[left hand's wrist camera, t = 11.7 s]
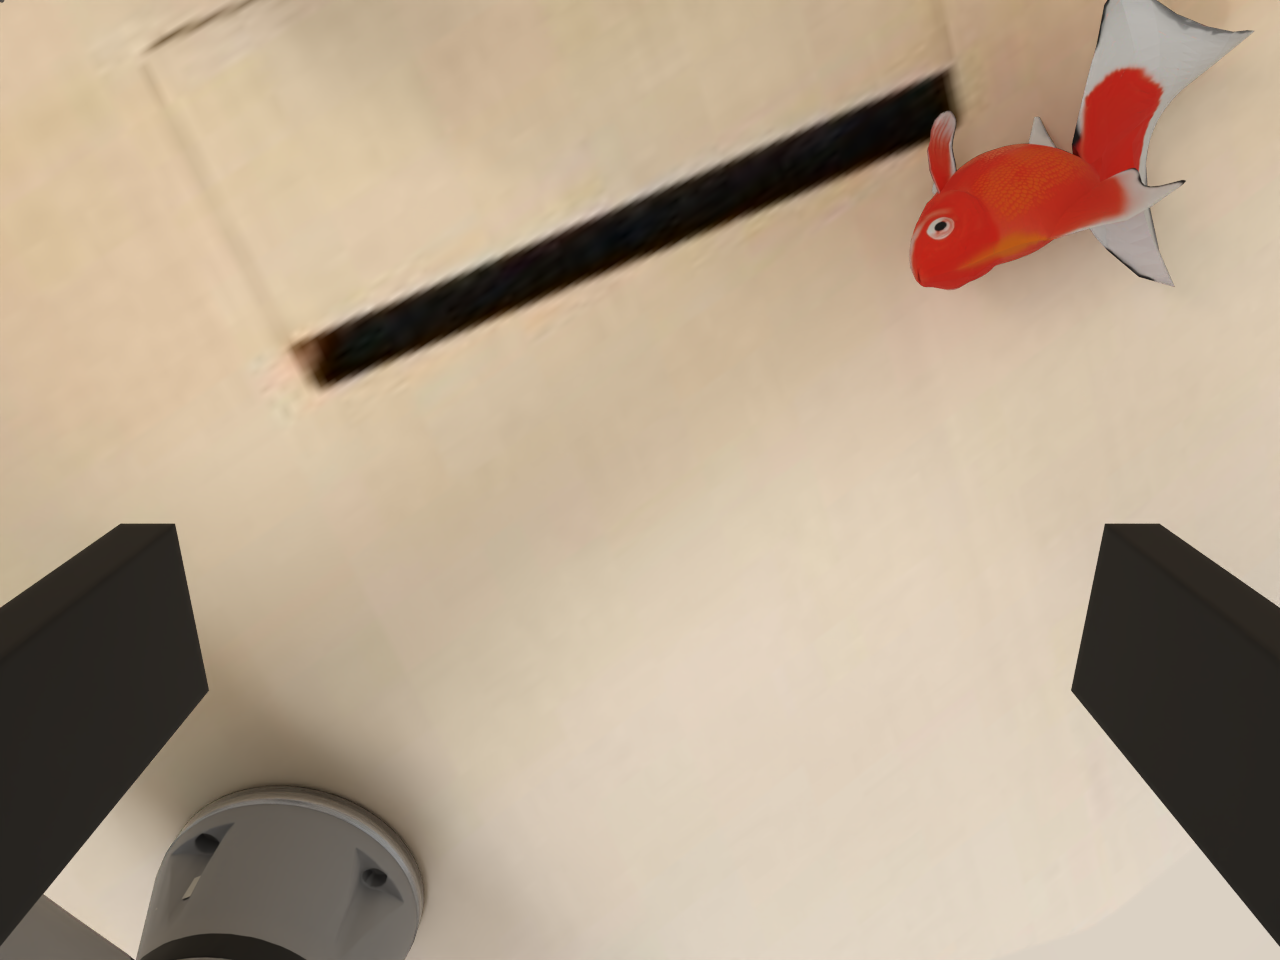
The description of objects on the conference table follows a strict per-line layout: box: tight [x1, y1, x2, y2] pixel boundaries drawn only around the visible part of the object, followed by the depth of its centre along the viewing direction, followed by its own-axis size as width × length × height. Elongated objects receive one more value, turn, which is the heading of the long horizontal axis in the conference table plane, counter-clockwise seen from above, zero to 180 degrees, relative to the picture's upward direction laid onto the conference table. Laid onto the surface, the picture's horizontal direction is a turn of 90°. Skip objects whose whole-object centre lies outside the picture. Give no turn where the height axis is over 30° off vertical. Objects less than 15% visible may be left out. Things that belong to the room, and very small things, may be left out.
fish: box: [910, 0, 1254, 290], centre depth 34 cm, size 11×16×10 cm
